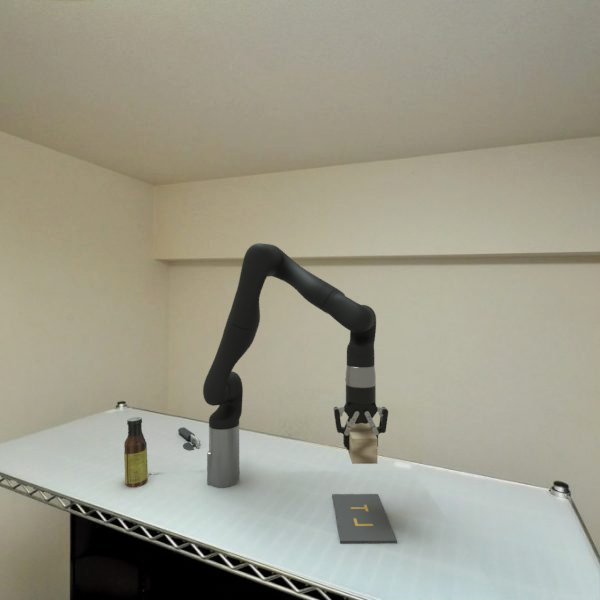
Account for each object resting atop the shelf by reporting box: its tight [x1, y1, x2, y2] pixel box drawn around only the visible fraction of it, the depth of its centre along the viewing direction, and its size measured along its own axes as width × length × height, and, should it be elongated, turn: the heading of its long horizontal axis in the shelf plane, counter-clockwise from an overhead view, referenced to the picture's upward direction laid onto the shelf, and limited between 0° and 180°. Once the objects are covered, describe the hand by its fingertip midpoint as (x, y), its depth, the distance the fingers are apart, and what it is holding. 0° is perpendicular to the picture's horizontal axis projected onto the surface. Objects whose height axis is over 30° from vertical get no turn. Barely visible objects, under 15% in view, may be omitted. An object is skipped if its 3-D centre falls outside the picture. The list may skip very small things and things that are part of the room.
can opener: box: [178, 426, 202, 452], centre depth 139 cm, size 19×6×5 cm, turn 34°
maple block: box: [347, 423, 378, 465], centre depth 92 cm, size 6×12×6 cm, turn 0°
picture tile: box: [331, 493, 398, 545], centre depth 92 cm, size 13×20×1 cm, turn 0°
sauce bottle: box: [123, 416, 149, 488], centre depth 109 cm, size 7×6×20 cm
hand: (360, 448), depth 92 cm, fingers closed on maple block, 6 cm apart
